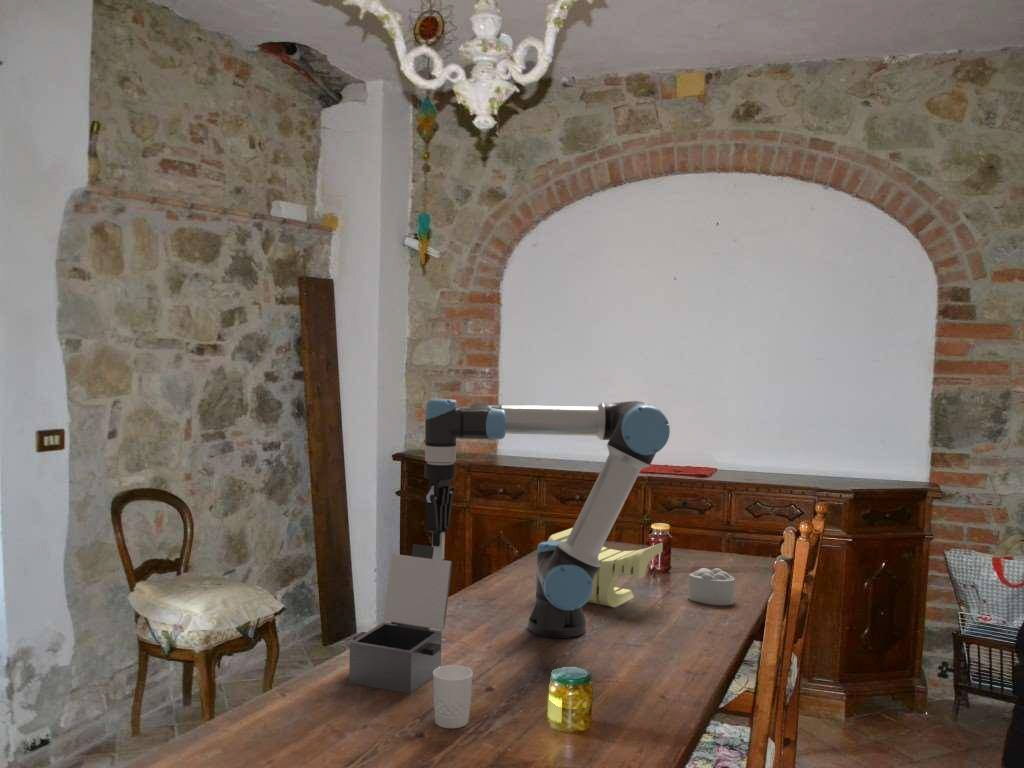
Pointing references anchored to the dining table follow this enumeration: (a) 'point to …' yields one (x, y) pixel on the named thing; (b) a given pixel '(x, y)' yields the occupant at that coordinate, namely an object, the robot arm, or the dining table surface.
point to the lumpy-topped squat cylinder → (711, 587)
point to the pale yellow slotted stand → (615, 570)
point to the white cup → (452, 695)
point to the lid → (418, 589)
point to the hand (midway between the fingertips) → (437, 558)
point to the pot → (394, 657)
